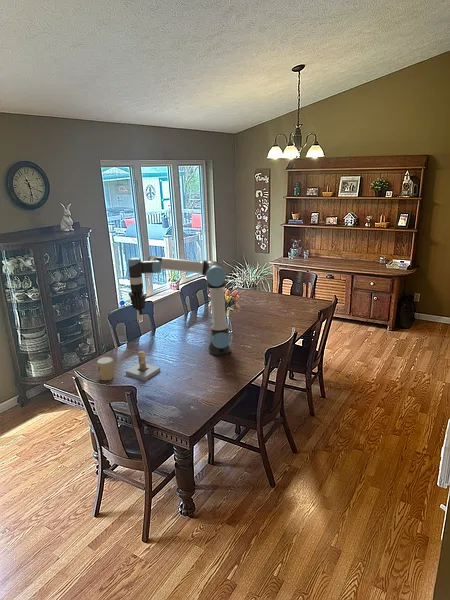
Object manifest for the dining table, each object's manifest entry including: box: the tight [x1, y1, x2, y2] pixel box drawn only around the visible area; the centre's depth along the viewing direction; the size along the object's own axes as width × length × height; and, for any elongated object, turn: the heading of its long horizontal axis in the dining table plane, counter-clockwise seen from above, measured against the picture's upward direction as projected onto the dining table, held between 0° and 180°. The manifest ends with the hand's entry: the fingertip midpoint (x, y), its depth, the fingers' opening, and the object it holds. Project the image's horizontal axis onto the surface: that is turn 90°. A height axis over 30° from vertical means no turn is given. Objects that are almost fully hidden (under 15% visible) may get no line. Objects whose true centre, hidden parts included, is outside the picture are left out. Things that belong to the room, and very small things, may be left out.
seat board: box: [125, 362, 161, 382], centre depth 253 cm, size 16×14×2 cm
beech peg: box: [137, 350, 146, 372], centre depth 252 cm, size 4×4×14 cm
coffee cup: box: [96, 356, 114, 381], centre depth 247 cm, size 9×9×12 cm
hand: (139, 319), depth 255 cm, fingers closed
